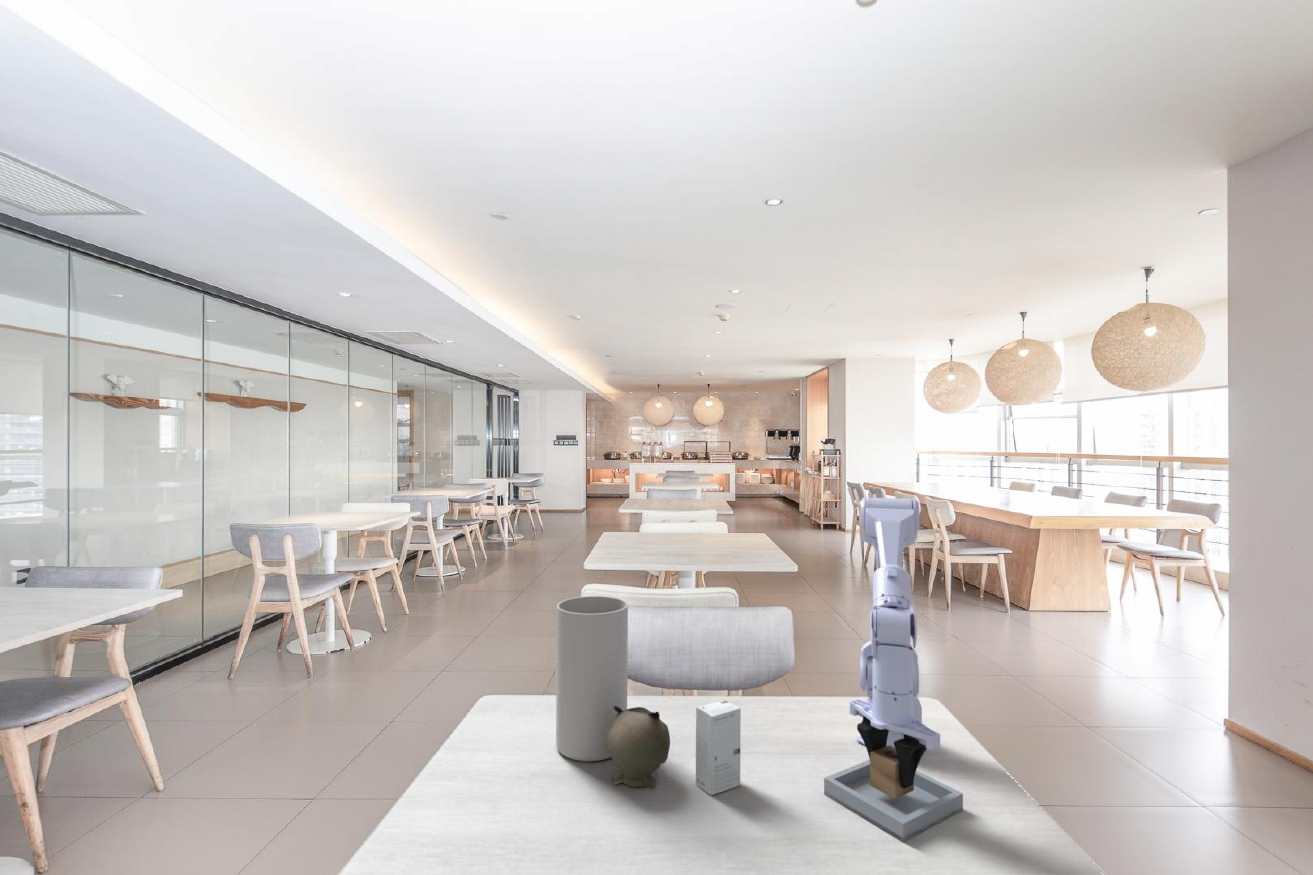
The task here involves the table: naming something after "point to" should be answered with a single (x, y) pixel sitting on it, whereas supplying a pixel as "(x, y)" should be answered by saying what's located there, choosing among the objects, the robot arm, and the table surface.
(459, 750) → the table surface
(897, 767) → the walnut block
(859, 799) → the slate tray
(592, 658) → the cylinder vase
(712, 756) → the skincare box
